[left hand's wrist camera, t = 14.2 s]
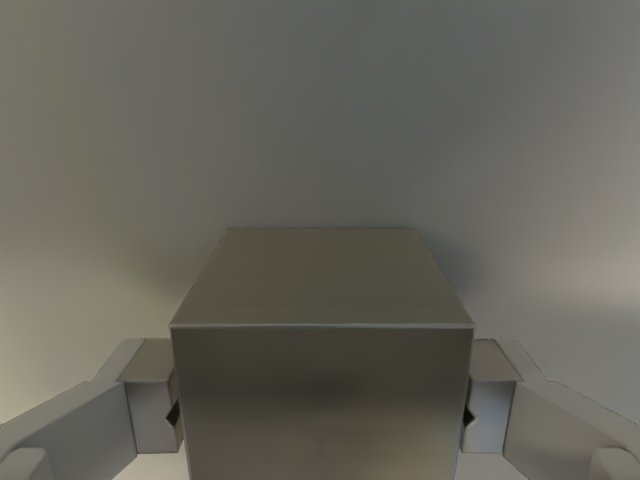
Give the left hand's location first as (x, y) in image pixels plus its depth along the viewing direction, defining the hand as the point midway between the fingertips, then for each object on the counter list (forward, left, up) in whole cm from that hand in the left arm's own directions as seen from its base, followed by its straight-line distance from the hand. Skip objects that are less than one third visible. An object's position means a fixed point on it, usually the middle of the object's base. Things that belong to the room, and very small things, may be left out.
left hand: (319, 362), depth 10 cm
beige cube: (0, 0, -2) cm, 2 cm away
